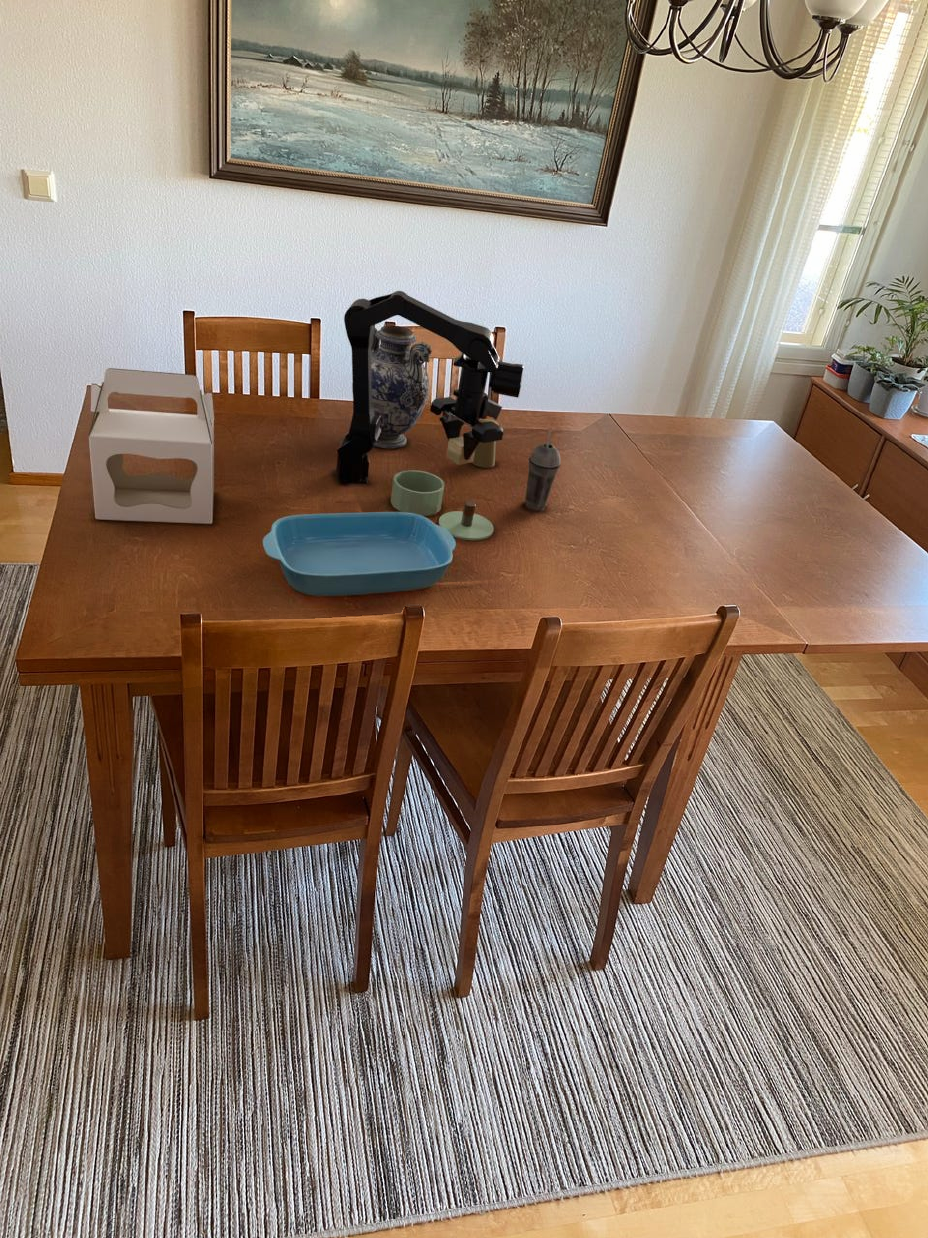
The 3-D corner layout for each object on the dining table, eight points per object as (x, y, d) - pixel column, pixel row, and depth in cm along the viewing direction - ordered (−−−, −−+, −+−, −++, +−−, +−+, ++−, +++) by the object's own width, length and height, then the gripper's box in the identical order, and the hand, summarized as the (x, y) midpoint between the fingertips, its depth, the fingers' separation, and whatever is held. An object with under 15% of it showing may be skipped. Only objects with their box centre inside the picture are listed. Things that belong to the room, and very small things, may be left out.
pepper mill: (485, 469, 220) (492, 428, 214) (465, 460, 223) (473, 419, 217) (499, 463, 225) (507, 422, 218) (480, 455, 227) (487, 414, 221)
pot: (398, 518, 192) (401, 493, 189) (384, 494, 200) (387, 470, 197) (447, 517, 196) (451, 492, 193) (431, 493, 205) (435, 469, 201)
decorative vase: (328, 434, 223) (336, 322, 208) (375, 418, 237) (387, 311, 221) (394, 464, 214) (408, 349, 199) (439, 446, 228) (456, 337, 213)
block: (458, 465, 197) (461, 446, 195) (445, 456, 200) (448, 438, 197) (473, 462, 200) (476, 443, 198) (460, 454, 203) (463, 436, 200)
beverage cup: (554, 506, 209) (573, 426, 198) (543, 518, 203) (562, 436, 192) (525, 497, 211) (543, 417, 200) (514, 507, 205) (531, 426, 194)
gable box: (214, 494, 188) (215, 364, 173) (213, 524, 178) (213, 389, 162) (102, 488, 183) (92, 354, 167) (93, 519, 172) (82, 379, 157)
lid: (448, 544, 186) (452, 517, 183) (431, 516, 195) (434, 490, 192) (500, 542, 191) (506, 516, 187) (481, 515, 200) (486, 490, 196)
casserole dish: (273, 610, 157) (275, 575, 153) (252, 545, 173) (253, 513, 169) (467, 597, 170) (473, 565, 166) (430, 539, 187) (435, 508, 183)
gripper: (527, 400, 190) (513, 467, 199) (472, 369, 201) (460, 434, 210) (489, 406, 183) (476, 475, 192) (433, 374, 194) (423, 440, 203)
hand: (460, 455), depth 199 cm, fingers closed on block, 4 cm apart
